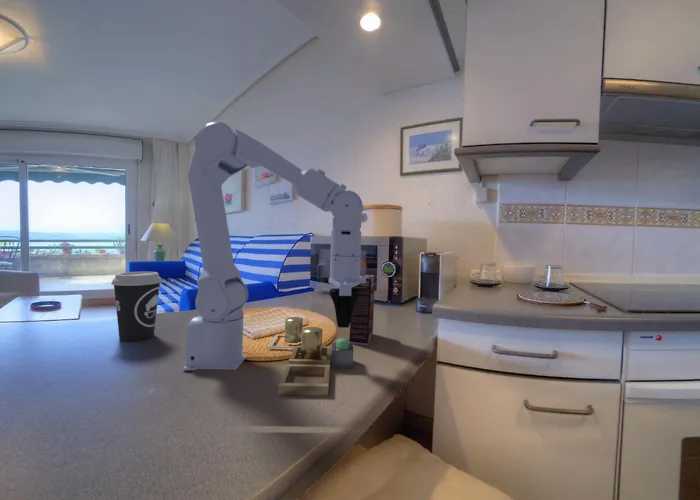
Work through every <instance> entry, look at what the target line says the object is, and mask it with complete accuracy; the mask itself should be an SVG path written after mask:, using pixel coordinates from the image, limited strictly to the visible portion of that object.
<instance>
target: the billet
mask: <svg viewBox="0 0 700 500" xmlns="http://www.w3.org/2000/svg"><path fill="white" fill-rule="evenodd" d="M303 328H304V318H303V317H299V316H289V317H286V318H285V319H284V333H285V337H284V343H285V342H287V343H298V342H301V341H302V329H303Z"/></svg>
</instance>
